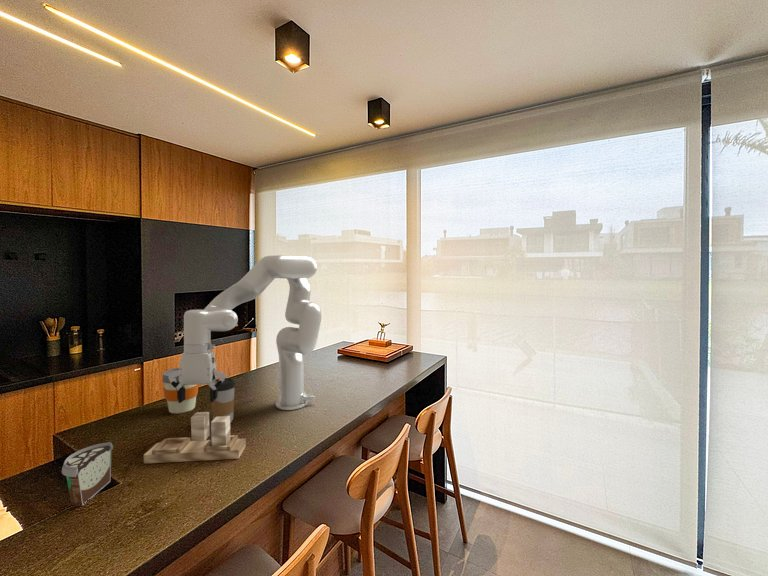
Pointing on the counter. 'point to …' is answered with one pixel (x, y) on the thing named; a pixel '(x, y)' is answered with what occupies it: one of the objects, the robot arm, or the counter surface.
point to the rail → (199, 446)
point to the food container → (88, 472)
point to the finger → (200, 426)
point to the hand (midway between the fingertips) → (197, 401)
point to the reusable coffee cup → (171, 394)
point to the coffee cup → (224, 399)
